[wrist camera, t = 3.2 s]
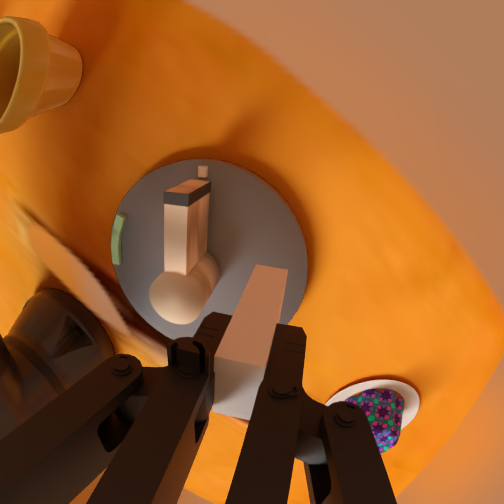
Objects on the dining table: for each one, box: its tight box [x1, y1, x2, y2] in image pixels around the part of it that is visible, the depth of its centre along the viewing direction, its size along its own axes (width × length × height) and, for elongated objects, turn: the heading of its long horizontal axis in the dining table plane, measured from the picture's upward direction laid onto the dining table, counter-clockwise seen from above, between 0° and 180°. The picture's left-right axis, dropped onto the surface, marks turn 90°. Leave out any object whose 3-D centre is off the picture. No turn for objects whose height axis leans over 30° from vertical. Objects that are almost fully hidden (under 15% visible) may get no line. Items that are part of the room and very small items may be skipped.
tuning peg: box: [149, 179, 220, 324], centre depth 23 cm, size 10×4×5 cm, turn 174°
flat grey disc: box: [111, 158, 308, 340], centre depth 27 cm, size 18×18×2 cm
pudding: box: [325, 379, 420, 454], centre depth 30 cm, size 12×12×5 cm
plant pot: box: [0, 16, 83, 134], centre depth 19 cm, size 10×10×10 cm
